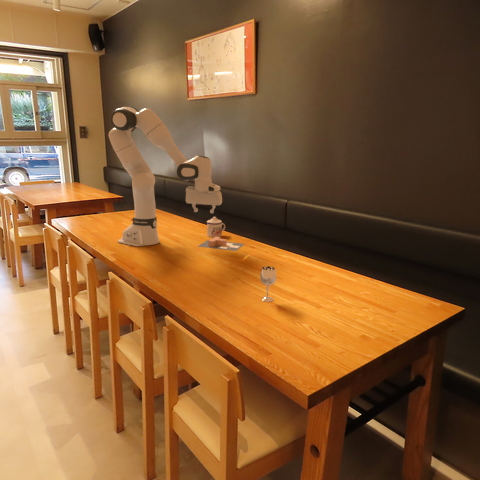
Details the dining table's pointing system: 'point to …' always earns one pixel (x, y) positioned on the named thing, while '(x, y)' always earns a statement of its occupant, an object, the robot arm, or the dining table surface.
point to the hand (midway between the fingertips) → (203, 212)
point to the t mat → (228, 247)
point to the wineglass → (268, 280)
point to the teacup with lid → (214, 227)
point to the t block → (217, 242)
